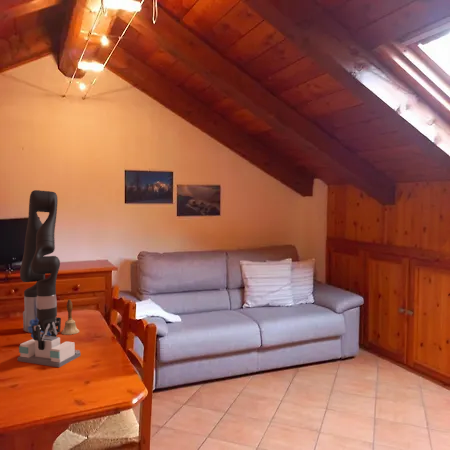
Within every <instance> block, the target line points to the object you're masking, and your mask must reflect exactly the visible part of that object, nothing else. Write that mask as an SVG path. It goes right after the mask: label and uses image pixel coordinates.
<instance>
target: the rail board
mask: <svg viewBox="0 0 450 450" xmlns="http://www.w3.org/2000/svg"><path fill="white" fill-rule="evenodd" d="M75 346H76V345H75V342H74V341H73V342H72V341H68V340H67V341H64V342H62V343H60V345H58V346H56V347H53V348H51V351H50V357H51V359H50V358H43V357H36V356H35V340H34V339H33V338H32V339H29V340H27V341H24V342H22V343H20V344H19V346H18V353H19V354H20V355H19V356H17V362H23V363H28V364H35V365H43V366H48V367H56V368H61V367H63V366H64V365H66V364H69V363H70V362H71V361H74V360H76V359H77V358H79V357H81V350H80V349H76V347H75Z"/></svg>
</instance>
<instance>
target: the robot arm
mask: <svg viewBox="0 0 450 450" xmlns="http://www.w3.org/2000/svg"><path fill="white" fill-rule="evenodd" d="M38 213H48V215H47V218H46V219H45V221H44V222H42V220H41V219H40V217H39V215H38ZM57 213H58V194H57V193H56V192H55V191H49V190H48V191H47V190H39V189H38V190H37V189H36V190H32V191H31V193H30V195H29V202H28V218H27V225H26V232H25V237H24V238H25V239H24V250H23V256H22V260H21V264H20V270H19V277H20V280H21V281H22V282H23V283H32V282H36V283H34V284H33V285H32V286H29V287H27V288H26V289H24V290H23V292H24V293H23V296H24V297H23V300H24V311H22V321H23V322H22V325H23V326H22V327H23V328H22V329H23V331H24V332H26V333H31V332H29V331H28V327H29V326H31V325H30V320H32V319H33V320H35V318H36V317H37V318H38V320H39V322H38V325H36V326H32V330H33V338H32V339H34V340H37V341H38V349H39V350H44V338H45V335H46V334H47V332H48V331H50V333H51V334H52V335H51V336H54V337H58V336H57V335H58V333H61V326H62V325H61V323H62V317H59V316H58V310H57V309H58V307H57V306H58V305H57V304H58V301H57V299H58V298H57V294H56V293H57V290H56V289H57V286H56V285H57V277H58V274H59V270H60V265H61V261H60V258H59V257H58V256H56V255H50V254H53V253H54V251H55V249H56V246H55V245H56V244H55V239H56V238H55V230H56V228H55V227H56V223H57ZM48 274H49V277H47V278H46V275H48ZM35 321H36V320H35ZM41 331H42V332H41ZM36 335H37V337H36ZM41 335H42V337H41Z"/></svg>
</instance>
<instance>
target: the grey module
mask: <svg viewBox="0 0 450 450" xmlns="http://www.w3.org/2000/svg"><path fill="white" fill-rule="evenodd" d="M41 337H42V336H41ZM60 344H61V337H58V336H57V337H54V336H46V335H45V338H44V350H39V349H38V341H37V340H35V356H36V357H43V358H50V359H51V357H50V351H51V348H53V347H56V346H58V345H60Z"/></svg>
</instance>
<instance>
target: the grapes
mask: <svg viewBox="0 0 450 450" xmlns="http://www.w3.org/2000/svg"><path fill="white" fill-rule="evenodd" d="M35 320H36V321H35ZM35 320H33V319H32V320H30V325H31V326H29V327H28V331H29V332H31V334H30V337H31V338H32V339H33V330H32V326H36V325H38V322H39V320H38V318H37V317H36V318H35ZM29 332H28V333H29ZM41 332H42V331H41ZM51 335H52V334H51V333H50V331H48V332H47V334H46V336H51ZM41 336H42V335H41ZM36 337H37V335H36Z"/></svg>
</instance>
